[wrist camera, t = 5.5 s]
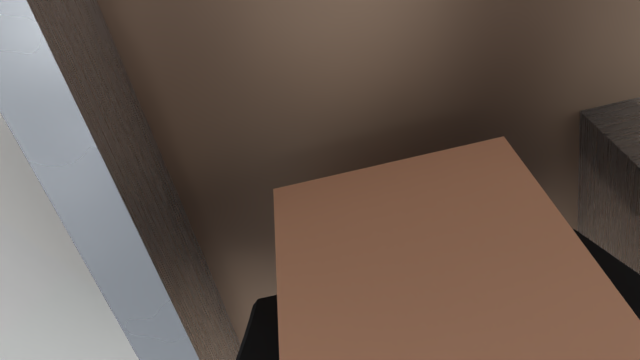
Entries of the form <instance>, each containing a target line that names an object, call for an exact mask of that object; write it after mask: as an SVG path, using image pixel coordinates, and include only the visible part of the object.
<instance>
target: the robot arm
mask: <svg viewBox="0 0 640 360" xmlns="http://www.w3.org/2000/svg"><path fill="white" fill-rule="evenodd" d="M573 230H574V232H575V233H576V235H577V236H578V237H579V239H580V240H581V241H582V243H583V244H584V245H585V247H586V248H587V249H588V251H589V252H590V253H591V255H592V256H593V258H594V259H595V260H596V262H597V263H598V264H599V266H600V267H601V268H602V270H603V271H604V272H605V274H606V275H607V276H608V278H609V279H610V281H611V282H612V283H613V285H614V286H615V287H616V289H617V290H618V291H619V293H620V294H621V295H622V297H623V298H624V299H625V301H626V302H627V304H628V305H629V306H630V308H631V309H632V310H633V312H634V313H635V314H636V316H637V317H638V318H639V320H640V274H639V273H637V272H636V271H634V270H633V269H631V268H630V267H628V266H627V265H625V264H624V263H623V262H621V261H620V260H618V259H617V258H615V257H614V256H613V255H611V254H610V253H608V252H607V251H605V250H604V249H603V248H601V247H600V246H598V245H597V244H595V243H594V242H593V241H591V240H590V239H588V238H587V237H585V236H584V235H582V234H581V233H579V232H578V231H576V230H575V229H573ZM236 360H279V336H278V308H277V295H273V296H269V297H264V298H260V299H257V301H256V302H255V303H254V305H253V307H252V310H251V314H250V318H249V321H248V324H247V327H246V331H245V334H244V337H243V340H242V343H241V346H240V349H239V352H238V354H237V357H236Z"/></svg>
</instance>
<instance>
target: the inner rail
mask: <svg viewBox="0 0 640 360" xmlns="http://www.w3.org/2000/svg"><path fill="white" fill-rule="evenodd" d="M578 232H579V233H581V234H582V235H584V236H585V237H587V238H588V239H590V240H591V241H593V242H594V243H595V244H597V245H598V246H600V247H601V248H603V249H604V250H605V251H607V252H608V253H610V254H611V255H613V256H614V257H615V258H617V259H618V260H620V261H621V262H623V263H624V264H625V265H627V266H628V267H630V268H631V269H633V270H634V271H636V272H637V273H639V274H640V97H637V98H633V99H628V100H624V101H620V102H615V103H611V104H607V105H603V106H598V107H594V108H590V109H585V110H581V111H580V123H579V183H578Z"/></svg>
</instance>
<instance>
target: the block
mask: <svg viewBox="0 0 640 360" xmlns="http://www.w3.org/2000/svg"><path fill="white" fill-rule="evenodd" d="M273 196H274V224H275V252H276V280H277V308H278V336H279V360H640V320H639V318H638V317H637V316H636V314H635V313H634V312H633V310H632V309H631V308H630V306H629V305H628V304H627V302H626V301H625V299H624V298H623V297H622V295H621V294H620V293H619V291H618V290H617V289H616V287H615V286H614V285H613V283H612V282H611V281H610V279H609V278H608V276H607V275H606V274H605V272H604V271H603V270H602V268H601V267H600V266H599V264H598V263H597V262H596V260H595V259H594V258H593V256H592V255H591V253H590V252H589V251H588V249H587V248H586V247H585V245H584V244H583V243H582V241H581V240H580V239H579V237H578V236H577V235H576V233H575V232H574V230H573V229H572V228H571V226H570V225H569V224H568V222H567V221H566V220H565V218H564V217H563V216H562V214H561V213H560V212H559V210H558V209H557V207H556V206H555V205H554V203H553V202H552V201H551V199H550V198H549V197H548V195H547V194H546V193H545V191H544V190H543V189H542V187H541V186H540V184H539V183H538V182H537V180H536V179H535V178H534V176H533V175H532V174H531V172H530V171H529V170H528V168H527V167H526V166H525V164H524V163H523V161H522V160H521V159H520V157H519V156H518V155H517V153H516V152H515V151H514V149H513V148H512V147H511V145H510V144H509V143H508V141H507V140H506V138H505V137H504V136H503V137H499V138H494V139H490V140H485V141H481V142H477V143H472V144H468V145H464V146H459V147H455V148H450V149H446V150H442V151H437V152H433V153H428V154H424V155H420V156H415V157H411V158H407V159H402V160H398V161H393V162H389V163H385V164H380V165H376V166H372V167H367V168H363V169H358V170H354V171H350V172H345V173H341V174H337V175H332V176H328V177H323V178H319V179H315V180H310V181H306V182H301V183H297V184H293V185H288V186H284V187H280V188H275V189H273Z"/></svg>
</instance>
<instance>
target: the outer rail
mask: <svg viewBox="0 0 640 360" xmlns="http://www.w3.org/2000/svg"><path fill="white" fill-rule="evenodd" d="M0 112H1V114H2V116H3V118H4V120H5V121H6V123H7V125H8V127H9V128H10V130H11V132H12V134H13V136H14V137H15V139H16V141H17V143H18V144H19V146H20V148H21V150H22V152H23V153H24V155H25V157H26V159H27V161H28V162H29V164H30V166H31V168H32V169H33V171H34V173H35V175H36V177H37V178H38V180H39V182H40V184H41V186H42V187H43V189H44V191H45V193H46V194H47V196H48V198H49V200H50V202H51V203H52V205H53V207H54V209H55V210H56V212H57V214H58V216H59V218H60V219H61V221H62V223H63V225H64V227H65V228H66V230H67V232H68V234H69V235H70V237H71V239H72V241H73V243H74V244H75V246H76V248H77V250H78V251H79V253H80V255H81V257H82V259H83V260H84V262H85V264H86V266H87V268H88V269H89V271H90V273H91V275H92V276H93V278H94V280H95V282H96V284H97V285H98V287H99V289H100V291H101V292H102V294H103V296H104V298H105V300H106V301H107V303H108V305H109V307H110V309H111V310H112V312H113V314H114V316H115V317H116V319H117V321H118V323H119V325H120V326H121V328H122V330H123V332H124V333H125V335H126V337H127V339H128V341H129V342H130V344H131V346H132V348H133V350H134V351H135V353H136V355H137V357H138V358H139V360H236V357H237V354H238V352H239V349H240V346H241V344H240V342H239V340H238V337H237V335H236V332H235V330H234V328H233V325H232V323H231V320H230V318H229V316H228V313H227V311H226V309H225V306H224V304H223V301H222V299H221V297H220V294H219V292H218V289H217V287H216V285H215V282H214V280H213V277H212V275H211V273H210V270H209V268H208V266H207V263H206V261H205V258H204V256H203V254H202V251H201V249H200V246H199V244H198V242H197V239H196V237H195V234H194V232H193V230H192V227H191V225H190V222H189V220H188V218H187V215H186V213H185V211H184V208H183V206H182V203H181V201H180V199H179V196H178V194H177V191H176V189H175V187H174V184H173V182H172V179H171V177H170V175H169V172H168V170H167V167H166V165H165V163H164V160H163V158H162V156H161V153H160V151H159V148H158V146H157V144H156V141H155V139H154V136H153V134H152V132H151V129H150V127H149V124H148V122H147V120H146V117H145V115H144V112H143V110H142V108H141V105H140V103H139V101H138V98H137V96H136V93H135V91H134V89H133V86H132V84H131V81H130V79H129V77H128V74H127V72H126V69H125V67H124V65H123V62H122V60H121V57H120V55H119V53H118V50H117V48H116V46H115V43H114V41H113V38H112V36H111V34H110V31H109V29H108V26H107V24H106V22H105V19H104V17H103V14H102V12H101V10H100V7H99V5H98V2H97V0H0Z"/></svg>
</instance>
